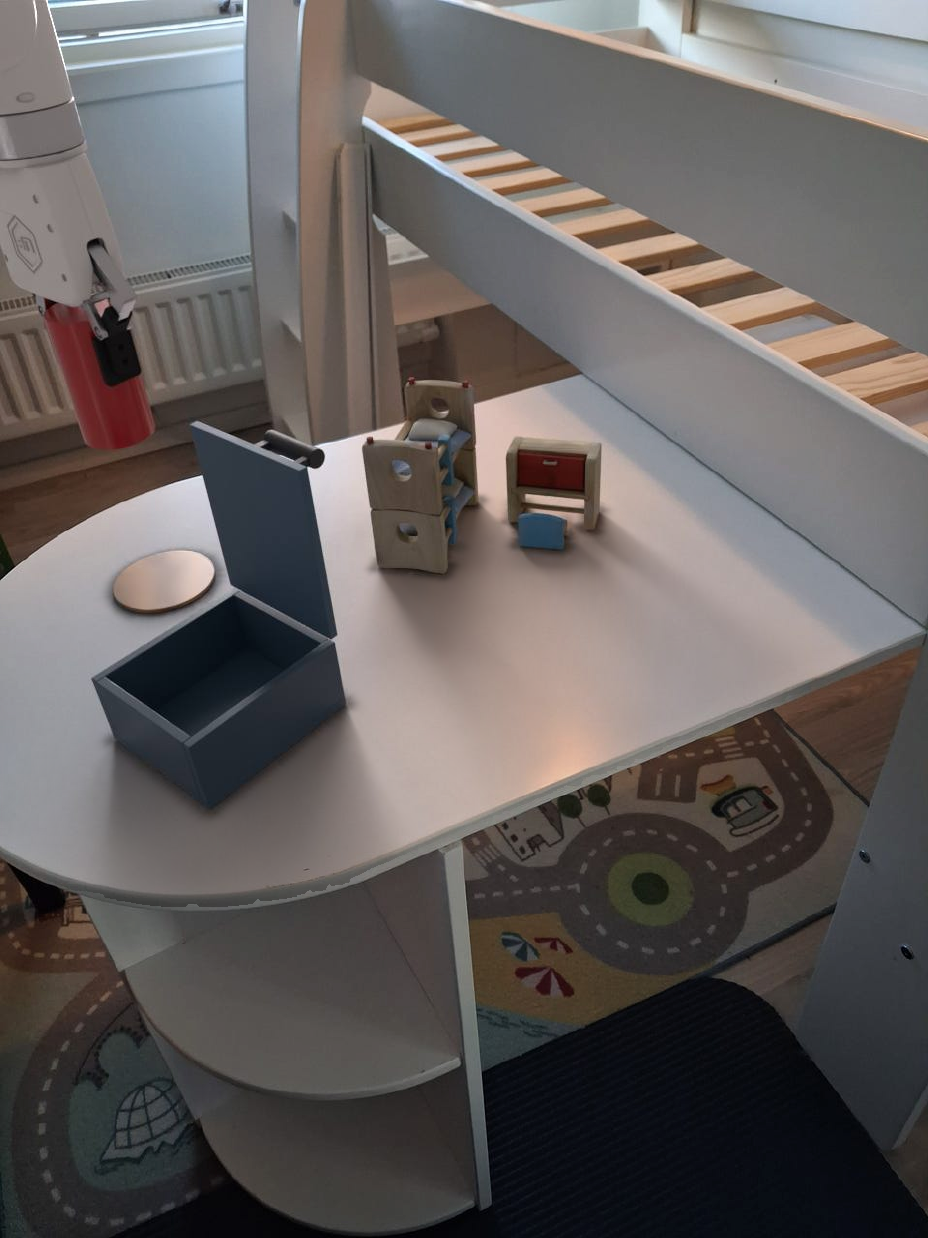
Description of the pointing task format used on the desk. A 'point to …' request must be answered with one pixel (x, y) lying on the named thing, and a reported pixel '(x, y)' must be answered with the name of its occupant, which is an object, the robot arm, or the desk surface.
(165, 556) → the coaster
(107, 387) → the can
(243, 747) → the blue rectangular box
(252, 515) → the lid
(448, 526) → the dollhouse furniture set
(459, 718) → the desk surface
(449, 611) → the desk surface
